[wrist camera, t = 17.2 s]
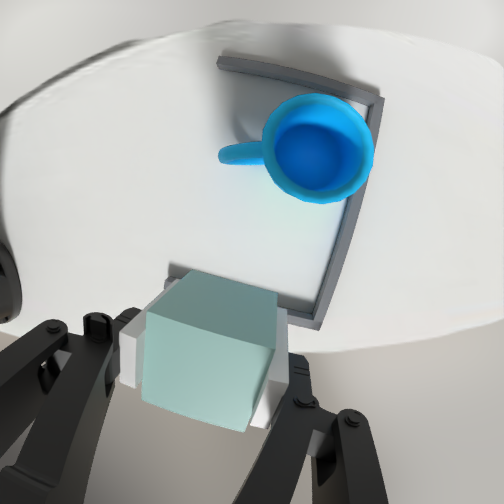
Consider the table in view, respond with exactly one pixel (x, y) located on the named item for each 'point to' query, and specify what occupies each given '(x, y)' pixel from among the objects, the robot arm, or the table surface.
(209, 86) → the table surface
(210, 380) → the block
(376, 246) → the table surface
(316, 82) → the tray frame
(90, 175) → the table surface
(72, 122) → the table surface
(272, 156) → the mug
